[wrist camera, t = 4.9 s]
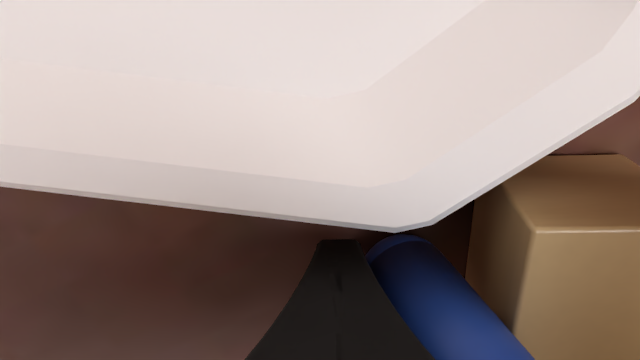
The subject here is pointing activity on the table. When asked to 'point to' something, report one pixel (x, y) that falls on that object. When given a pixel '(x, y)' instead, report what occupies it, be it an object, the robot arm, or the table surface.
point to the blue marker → (440, 302)
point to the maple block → (563, 256)
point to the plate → (304, 100)
